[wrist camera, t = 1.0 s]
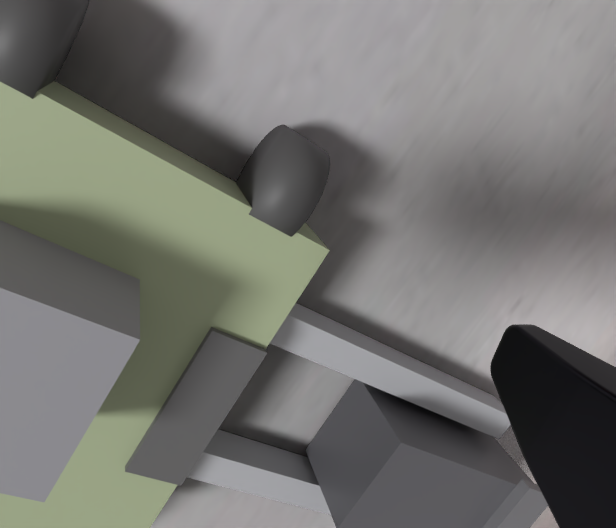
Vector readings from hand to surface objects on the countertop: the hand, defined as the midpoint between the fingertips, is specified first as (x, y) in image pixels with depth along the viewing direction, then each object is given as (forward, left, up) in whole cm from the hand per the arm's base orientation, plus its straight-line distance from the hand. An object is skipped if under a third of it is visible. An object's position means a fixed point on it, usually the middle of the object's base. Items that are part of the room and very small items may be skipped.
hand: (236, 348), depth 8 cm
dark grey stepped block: (-8, -18, -14) cm, 24 cm away
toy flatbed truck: (-8, -7, -14) cm, 18 cm away
